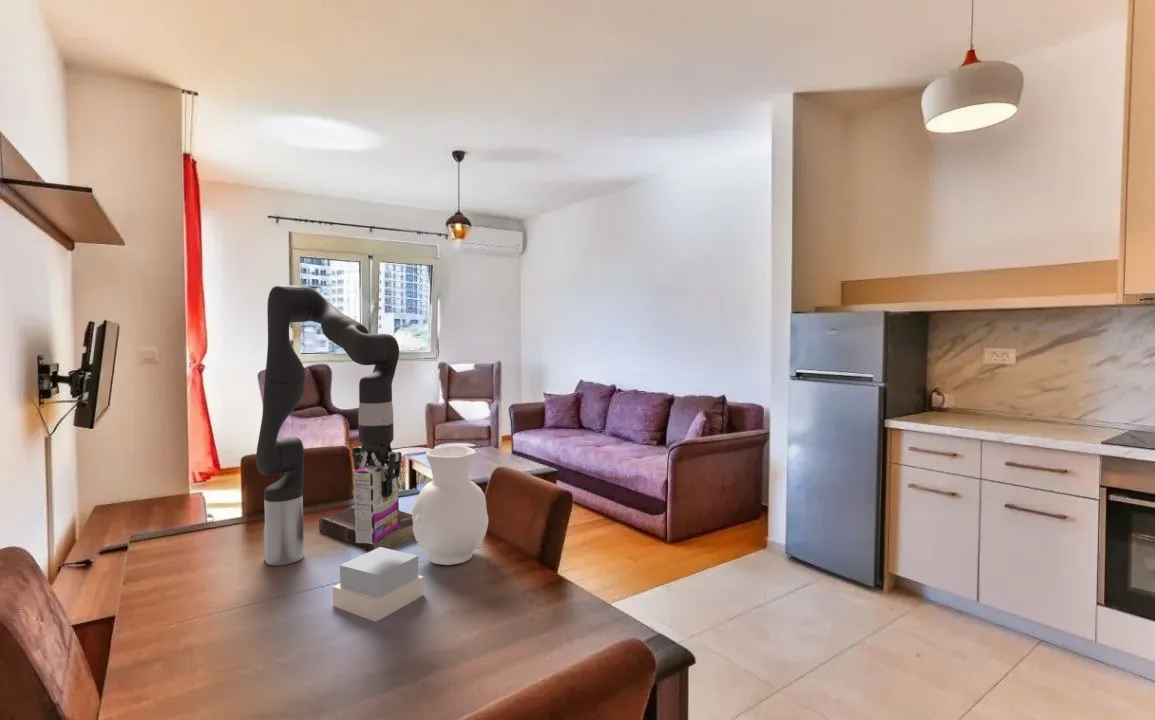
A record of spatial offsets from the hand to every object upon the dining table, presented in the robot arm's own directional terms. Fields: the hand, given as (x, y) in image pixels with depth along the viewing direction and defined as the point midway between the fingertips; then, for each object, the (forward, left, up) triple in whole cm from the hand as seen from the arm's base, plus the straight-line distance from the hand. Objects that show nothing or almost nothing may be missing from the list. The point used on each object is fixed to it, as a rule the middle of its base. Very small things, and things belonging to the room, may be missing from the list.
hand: (377, 494), depth 127 cm
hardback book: (-37, +29, -26) cm, 53 cm away
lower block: (0, 0, -25) cm, 25 cm away
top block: (0, 0, -20) cm, 20 cm away
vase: (-2, +26, -25) cm, 36 cm away
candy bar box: (0, 0, -10) cm, 10 cm away
